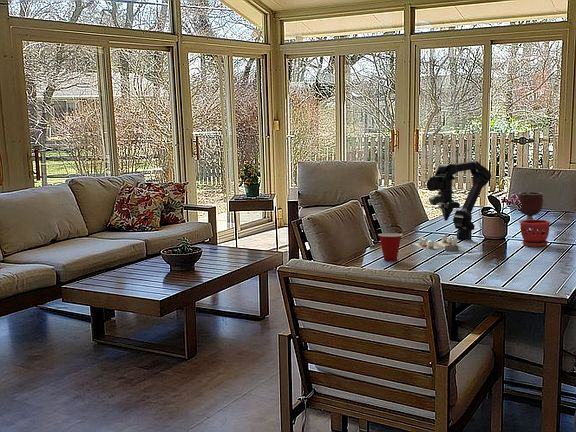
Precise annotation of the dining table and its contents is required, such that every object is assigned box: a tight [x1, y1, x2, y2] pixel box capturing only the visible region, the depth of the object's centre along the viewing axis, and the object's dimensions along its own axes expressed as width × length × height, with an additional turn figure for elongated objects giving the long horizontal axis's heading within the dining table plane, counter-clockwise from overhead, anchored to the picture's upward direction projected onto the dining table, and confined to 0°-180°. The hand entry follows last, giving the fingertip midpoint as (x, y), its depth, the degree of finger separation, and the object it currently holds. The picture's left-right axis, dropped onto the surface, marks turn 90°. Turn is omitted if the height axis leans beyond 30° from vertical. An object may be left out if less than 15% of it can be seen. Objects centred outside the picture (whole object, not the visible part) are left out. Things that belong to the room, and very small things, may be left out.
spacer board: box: [412, 240, 463, 250], centre depth 313 cm, size 20×15×1 cm
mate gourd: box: [517, 189, 544, 223], centre depth 375 cm, size 16×14×20 cm
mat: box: [434, 251, 472, 257], centre depth 301 cm, size 18×10×1 cm, turn 101°
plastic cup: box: [377, 232, 403, 262], centre depth 289 cm, size 11×11×12 cm
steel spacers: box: [418, 234, 458, 250], centre depth 312 cm, size 17×14×4 cm
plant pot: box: [519, 219, 550, 248], centre depth 310 cm, size 13×13×12 cm
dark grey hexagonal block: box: [444, 245, 460, 253], centre depth 300 cm, size 7×6×2 cm
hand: (445, 220), depth 318 cm, fingers closed
